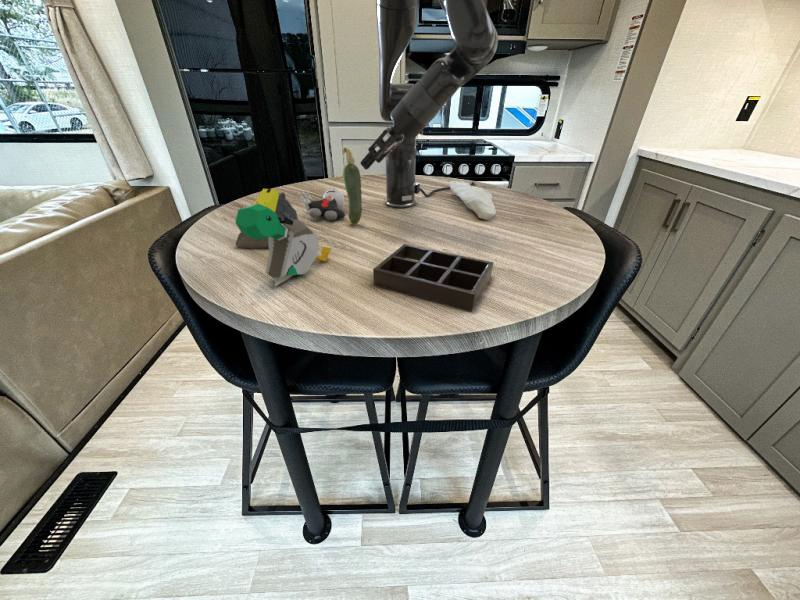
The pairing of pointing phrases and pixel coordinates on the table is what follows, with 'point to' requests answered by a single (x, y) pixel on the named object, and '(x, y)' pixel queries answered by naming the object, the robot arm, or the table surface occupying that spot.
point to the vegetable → (352, 188)
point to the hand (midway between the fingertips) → (369, 163)
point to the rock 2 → (475, 199)
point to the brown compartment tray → (434, 275)
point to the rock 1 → (281, 211)
